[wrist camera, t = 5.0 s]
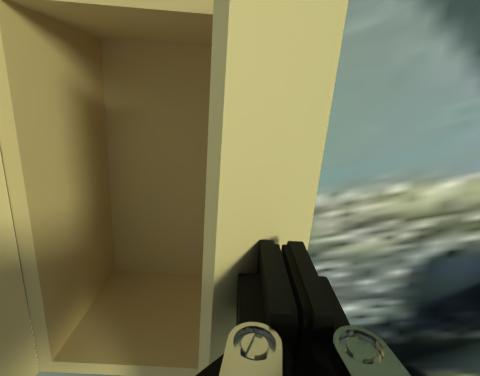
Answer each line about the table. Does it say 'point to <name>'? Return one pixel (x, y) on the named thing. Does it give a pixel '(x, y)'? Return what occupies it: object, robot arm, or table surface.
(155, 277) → the cardboard box
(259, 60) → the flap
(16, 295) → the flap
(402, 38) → the table surface
